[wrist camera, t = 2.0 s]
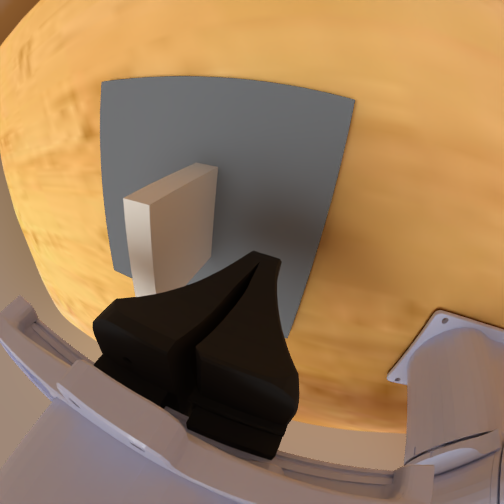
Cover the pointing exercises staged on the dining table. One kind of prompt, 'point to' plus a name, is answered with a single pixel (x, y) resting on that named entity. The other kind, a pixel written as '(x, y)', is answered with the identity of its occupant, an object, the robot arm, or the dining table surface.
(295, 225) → the mat
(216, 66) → the dining table surface
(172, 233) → the tile
